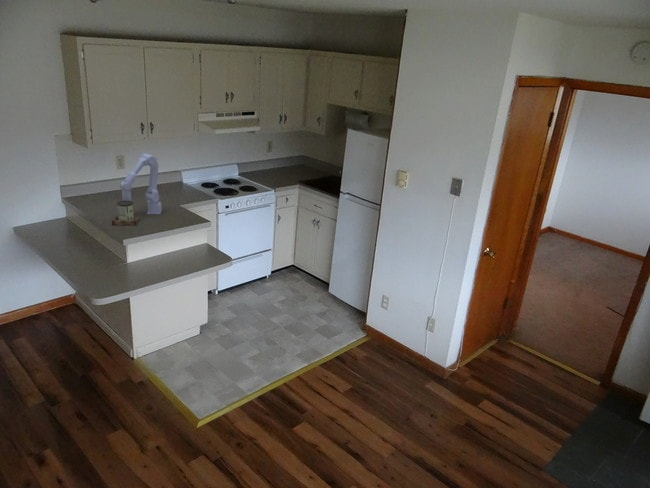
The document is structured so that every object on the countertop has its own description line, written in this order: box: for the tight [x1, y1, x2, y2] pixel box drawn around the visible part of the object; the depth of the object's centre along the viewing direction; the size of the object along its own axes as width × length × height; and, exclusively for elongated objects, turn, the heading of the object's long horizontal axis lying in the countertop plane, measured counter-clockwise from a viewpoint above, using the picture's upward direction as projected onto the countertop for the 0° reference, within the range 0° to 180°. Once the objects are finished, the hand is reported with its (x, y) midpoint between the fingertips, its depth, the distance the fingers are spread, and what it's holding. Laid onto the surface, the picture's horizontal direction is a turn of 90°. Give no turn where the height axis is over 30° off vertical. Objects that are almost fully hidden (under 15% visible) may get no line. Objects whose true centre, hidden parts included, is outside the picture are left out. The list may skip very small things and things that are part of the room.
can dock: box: [111, 215, 140, 226], centre depth 347 cm, size 16×10×3 cm, turn 99°
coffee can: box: [116, 200, 135, 220], centre depth 347 cm, size 10×10×14 cm
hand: (128, 216), depth 356 cm, fingers closed
